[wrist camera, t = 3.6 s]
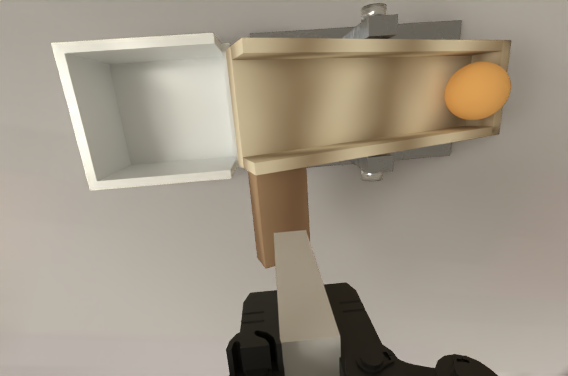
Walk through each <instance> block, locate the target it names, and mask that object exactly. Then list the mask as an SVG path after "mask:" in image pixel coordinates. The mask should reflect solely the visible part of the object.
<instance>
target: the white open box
mask: <svg viewBox="0 0 568 376" xmlns="http://www.w3.org/2000/svg"><path fill="white" fill-rule="evenodd" d="M51 45H52V49H53V52H54V56H55V60H56V64H57V67H58V71H59V75H60V79H61V83H62V86H63V90H64V94H65V98H66V101H67V105H68V109H69V113H70V117H71V120H72V124H73V128H74V132H75V135H76V139H77V143H78V147H79V151H80V154H81V158H82V162H83V166H84V169H85V173H86V177H87V181H88V185H89V188H90V191H91V190H102V189H114V188H126V187H138V186H149V185H161V184H173V183H184V182H196V181H208V180H220V179H231V178H232V176H233V173H234V171H235V169H236V168H240V167H241V166H239V163H238V154H237V145H236V137H235V128H234V119H233V111H232V102H231V94H230V85H229V76H228V68H227V59H226V49H228V48H229V47H230V46H231V45H230V43H220V41H219V40H218V39H217V37H216V36H215V34H214V33H200V34H184V35H168V36H152V37H137V38H121V39H105V40H89V41H73V42H57V43H51Z"/></svg>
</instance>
